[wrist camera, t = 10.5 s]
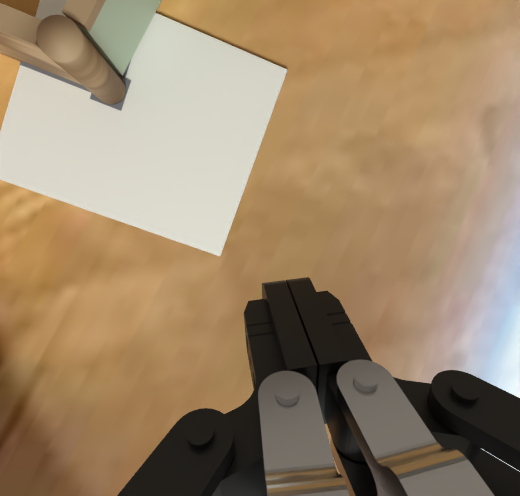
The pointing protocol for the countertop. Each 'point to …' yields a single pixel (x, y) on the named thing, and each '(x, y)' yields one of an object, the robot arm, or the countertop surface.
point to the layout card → (147, 134)
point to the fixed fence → (58, 51)
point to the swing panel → (113, 26)
